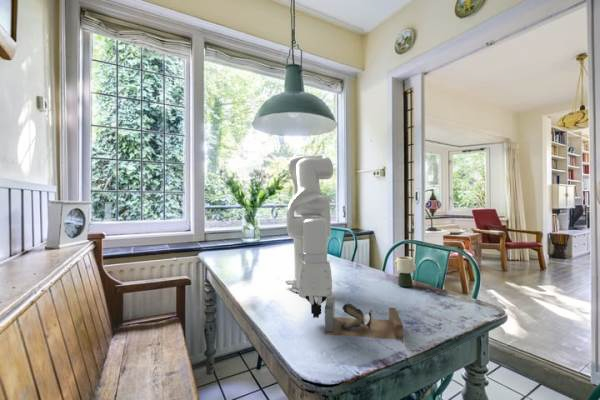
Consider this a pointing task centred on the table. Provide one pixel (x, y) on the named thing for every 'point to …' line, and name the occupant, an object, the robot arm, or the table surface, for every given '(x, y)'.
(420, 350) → the table surface
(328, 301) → the bookend
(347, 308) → the eagle figurine
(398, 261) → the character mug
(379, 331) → the wooden book rack
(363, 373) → the table surface
